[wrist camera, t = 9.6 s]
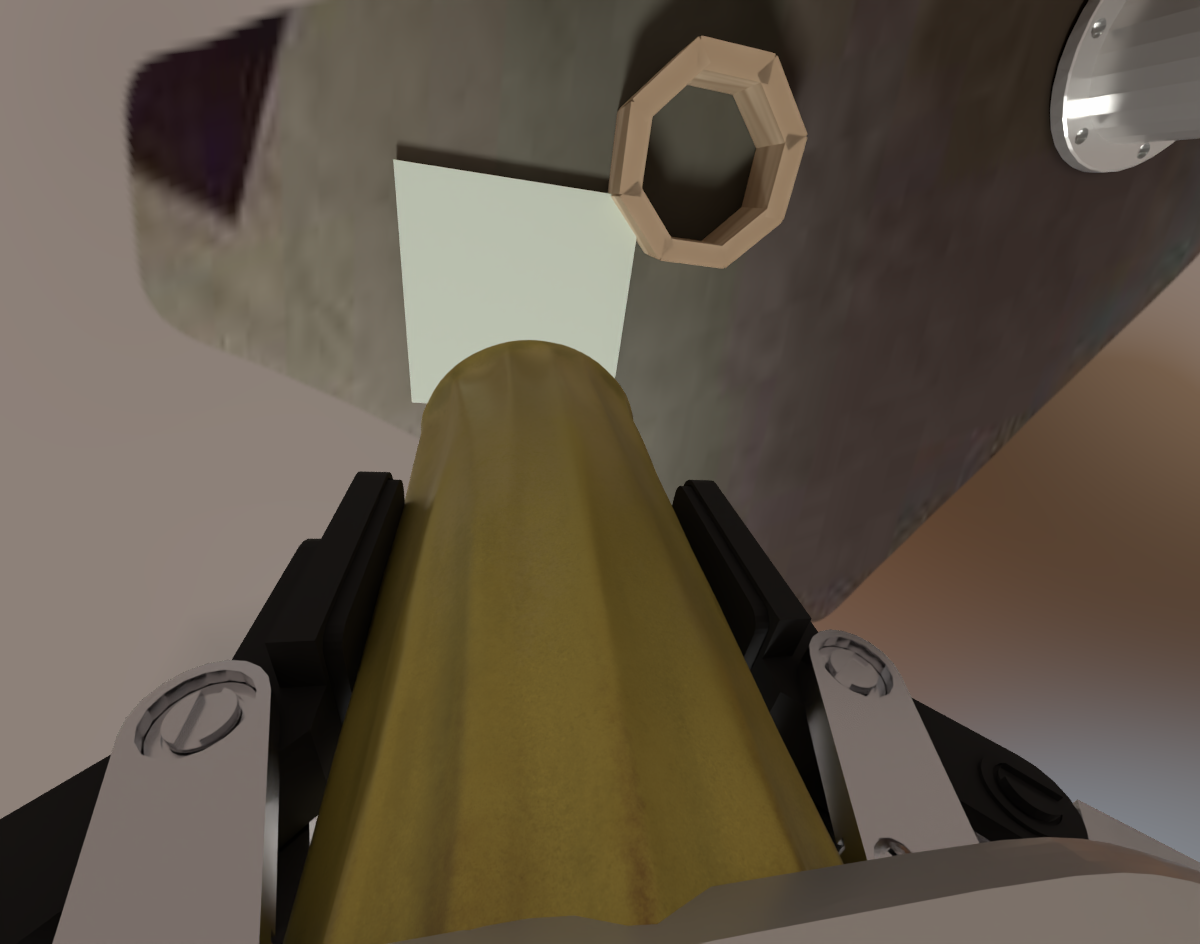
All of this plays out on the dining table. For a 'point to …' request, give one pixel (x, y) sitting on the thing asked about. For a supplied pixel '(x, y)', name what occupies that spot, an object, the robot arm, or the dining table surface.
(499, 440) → the vase
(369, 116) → the dining table surface
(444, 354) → the mat
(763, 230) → the ring
